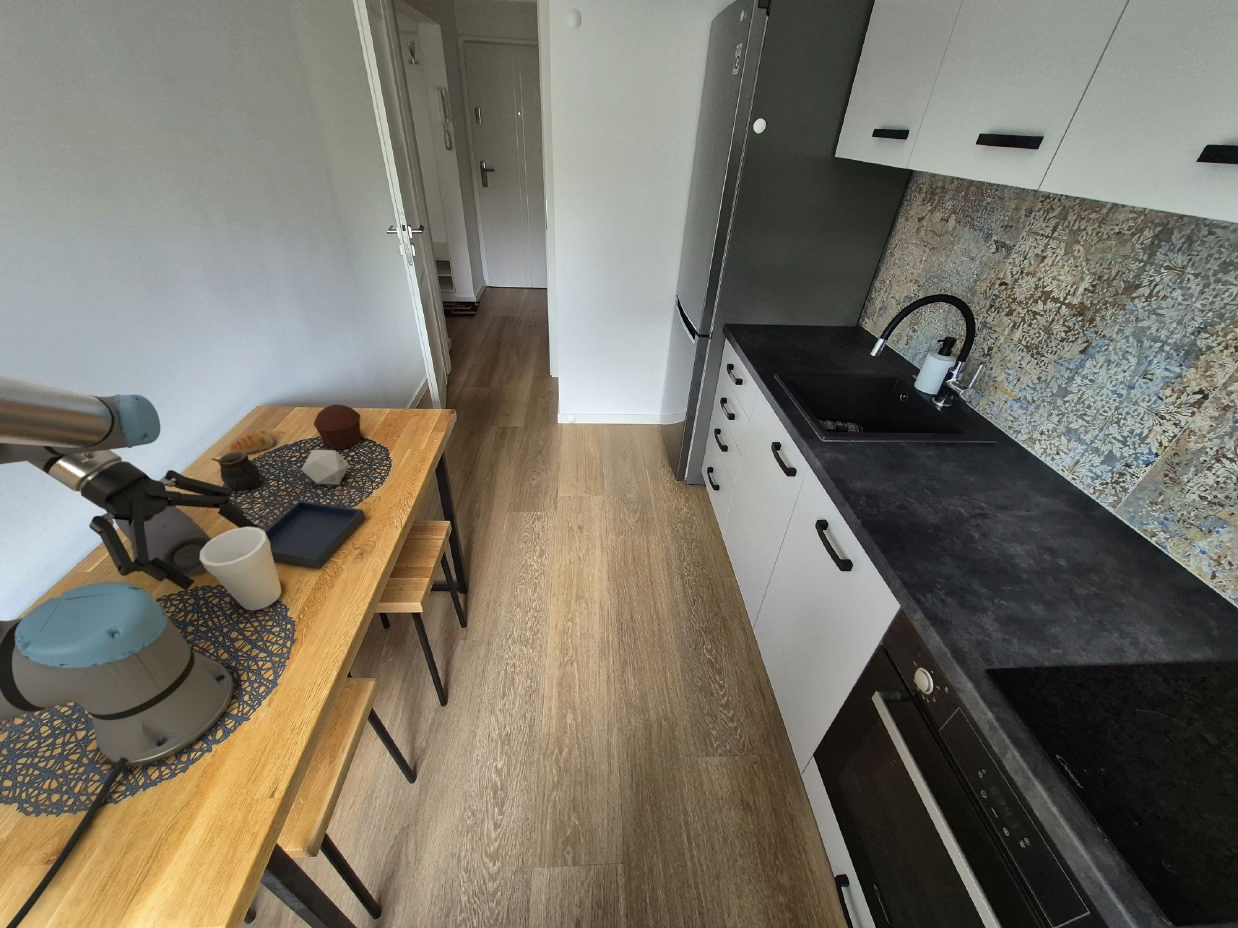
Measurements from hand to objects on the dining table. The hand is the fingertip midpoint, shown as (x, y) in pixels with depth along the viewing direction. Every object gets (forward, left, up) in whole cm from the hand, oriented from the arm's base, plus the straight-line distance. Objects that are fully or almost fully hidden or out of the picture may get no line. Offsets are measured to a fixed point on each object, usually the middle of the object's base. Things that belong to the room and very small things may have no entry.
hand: (224, 556), depth 86 cm
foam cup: (0, -3, -10) cm, 10 cm away
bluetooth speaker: (+6, +21, -10) cm, 24 cm away
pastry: (+43, +35, -10) cm, 57 cm away
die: (+34, +7, -10) cm, 37 cm away
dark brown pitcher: (+28, +25, -10) cm, 39 cm away
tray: (+16, -1, -10) cm, 19 cm away
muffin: (+51, +15, -10) cm, 54 cm away
